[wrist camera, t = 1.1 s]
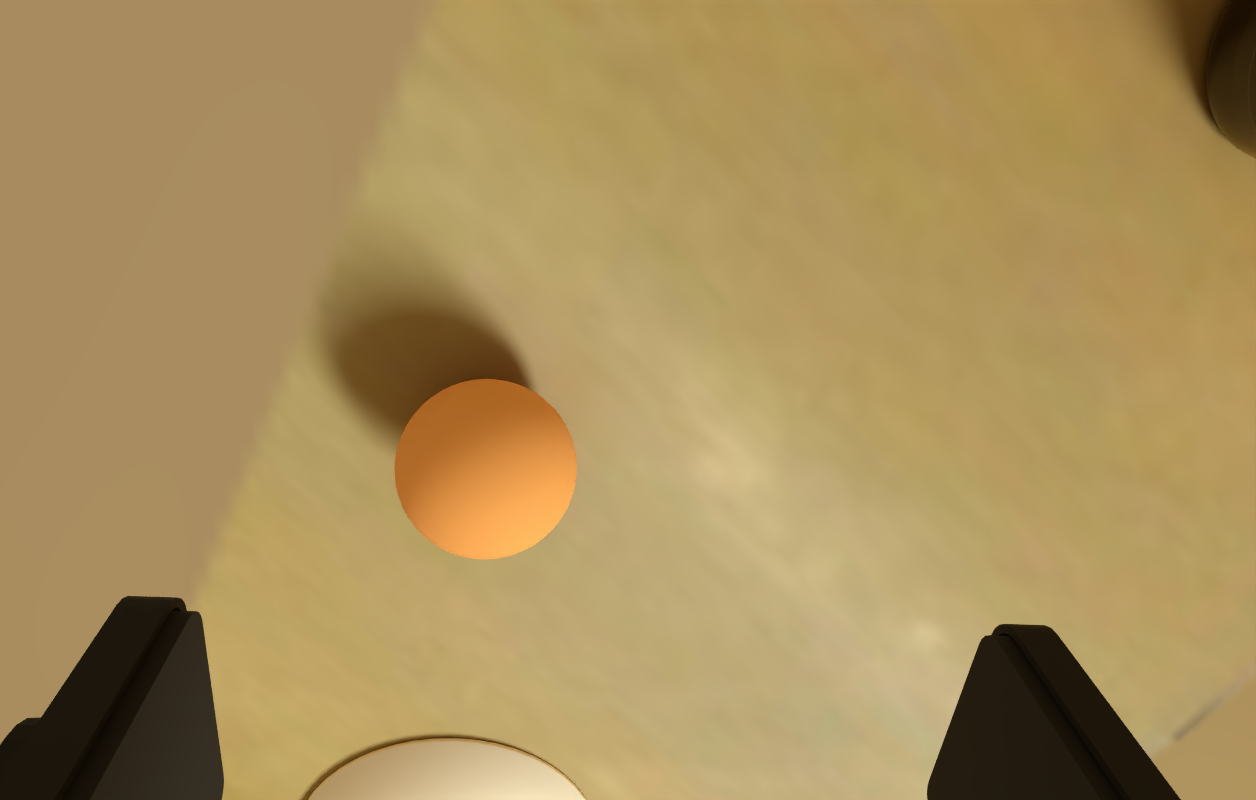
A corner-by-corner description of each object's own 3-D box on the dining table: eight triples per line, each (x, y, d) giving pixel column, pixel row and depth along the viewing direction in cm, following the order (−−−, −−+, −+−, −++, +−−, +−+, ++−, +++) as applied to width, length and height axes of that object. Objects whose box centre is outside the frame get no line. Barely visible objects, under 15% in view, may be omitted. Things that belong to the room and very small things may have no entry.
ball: (410, 342, 28) (381, 424, 23) (583, 358, 29) (590, 441, 24) (406, 489, 30) (378, 591, 25) (565, 500, 31) (568, 602, 26)
